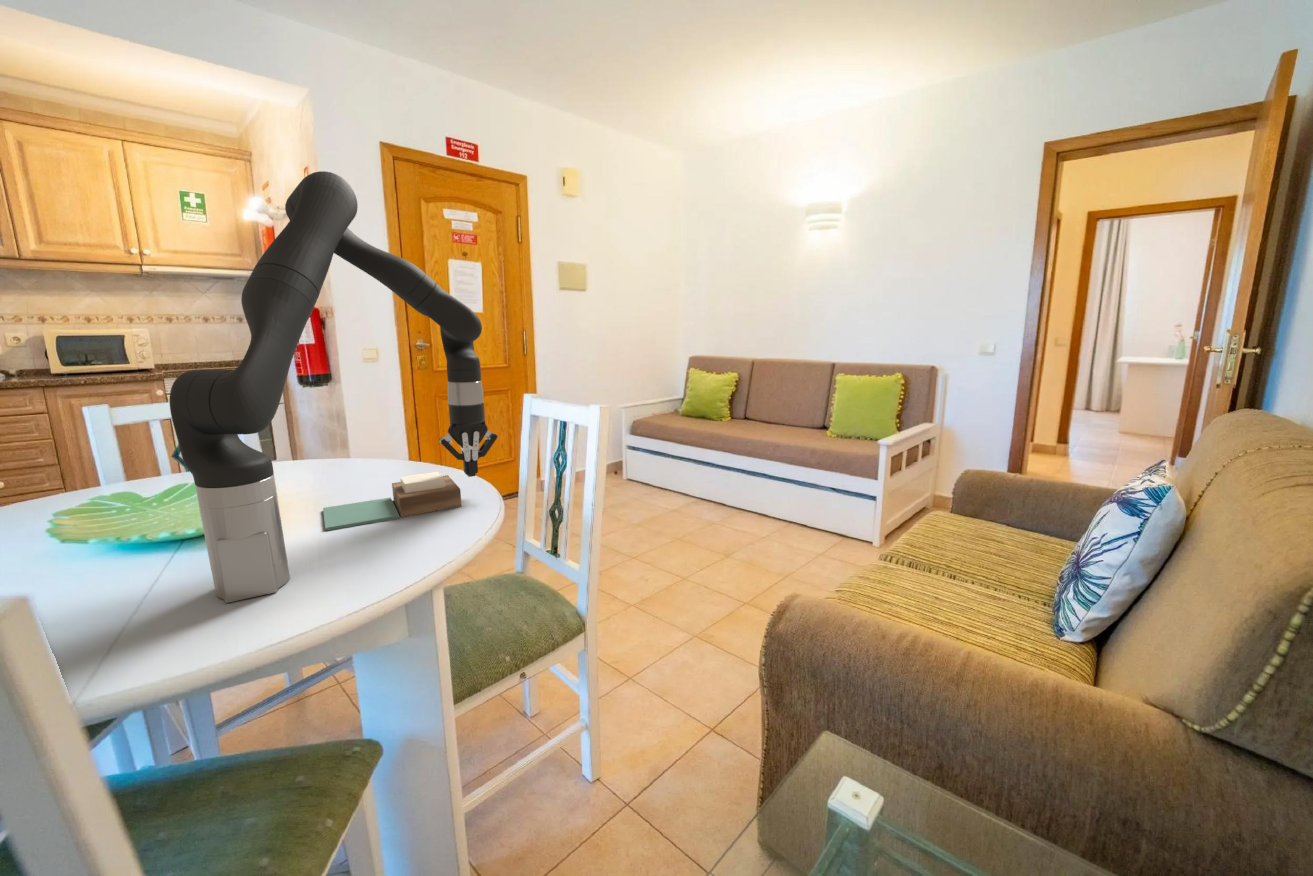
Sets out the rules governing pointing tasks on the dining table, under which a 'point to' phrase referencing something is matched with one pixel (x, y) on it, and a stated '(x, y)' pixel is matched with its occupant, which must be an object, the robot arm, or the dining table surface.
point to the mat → (359, 513)
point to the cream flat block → (422, 482)
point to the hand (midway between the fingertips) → (471, 475)
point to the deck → (426, 498)
